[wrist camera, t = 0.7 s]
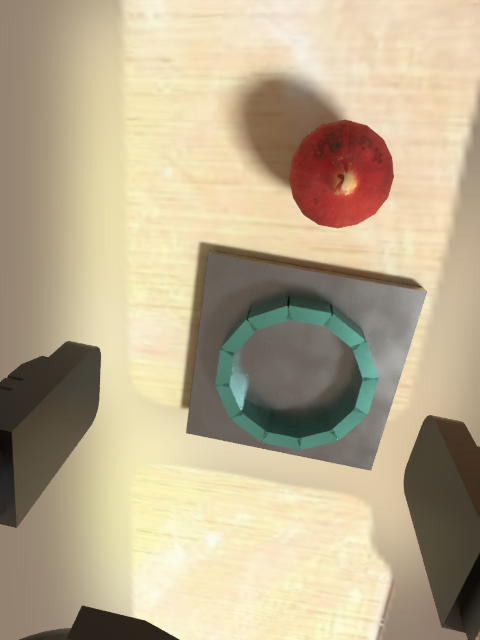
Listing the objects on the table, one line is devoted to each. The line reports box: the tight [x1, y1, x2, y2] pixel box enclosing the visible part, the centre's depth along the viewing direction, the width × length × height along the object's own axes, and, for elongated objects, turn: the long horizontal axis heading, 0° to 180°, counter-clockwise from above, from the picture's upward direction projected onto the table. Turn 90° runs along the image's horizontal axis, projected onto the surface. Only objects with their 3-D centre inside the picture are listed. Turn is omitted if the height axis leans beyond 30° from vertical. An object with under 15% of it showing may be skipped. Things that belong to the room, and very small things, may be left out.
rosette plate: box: [186, 251, 427, 470], centre depth 34 cm, size 15×15×3 cm
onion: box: [289, 120, 394, 228], centre depth 26 cm, size 6×6×8 cm
